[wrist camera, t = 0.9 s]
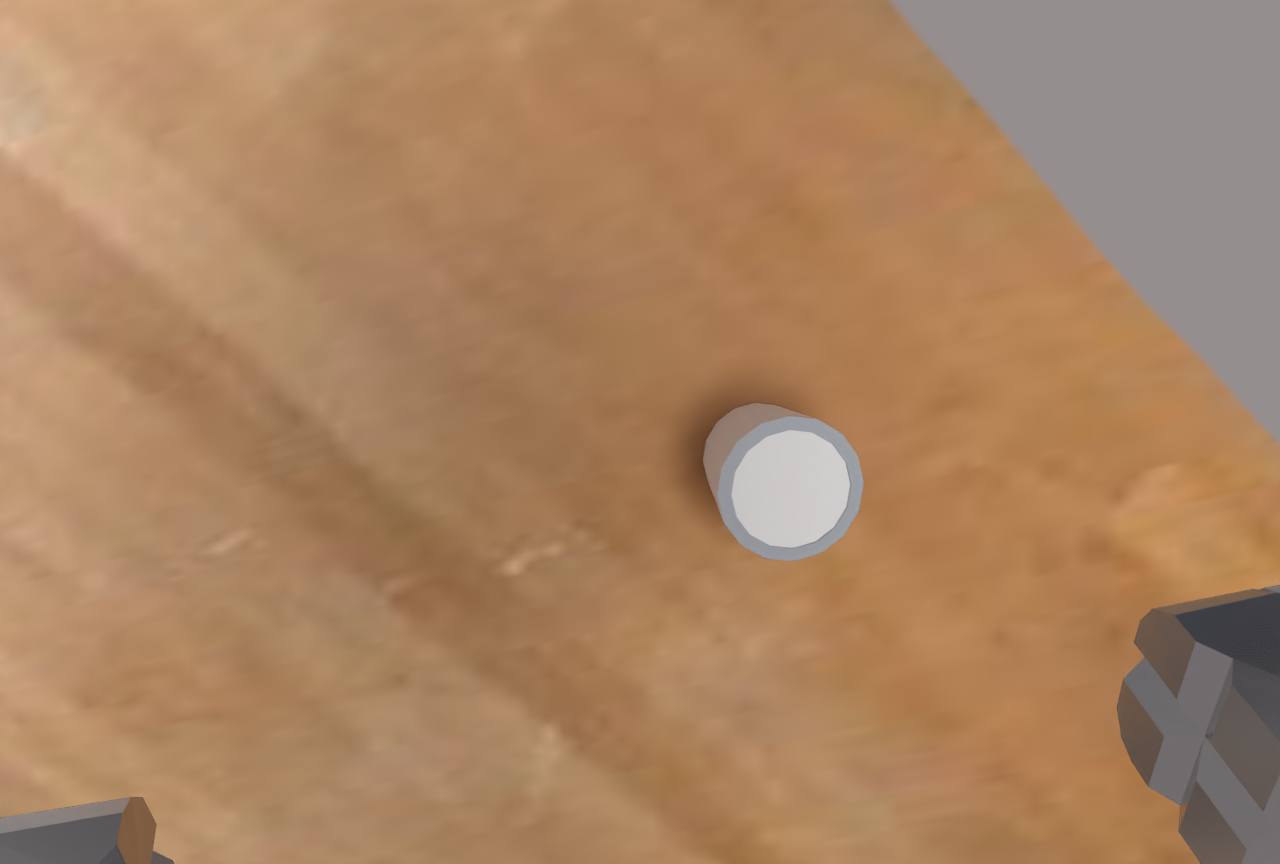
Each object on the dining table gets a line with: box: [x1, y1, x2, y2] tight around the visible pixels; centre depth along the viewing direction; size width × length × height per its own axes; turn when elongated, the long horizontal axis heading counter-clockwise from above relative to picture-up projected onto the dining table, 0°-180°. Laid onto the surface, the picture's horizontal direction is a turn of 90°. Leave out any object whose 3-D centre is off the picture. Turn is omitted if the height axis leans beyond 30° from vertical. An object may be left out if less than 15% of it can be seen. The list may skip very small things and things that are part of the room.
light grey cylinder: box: [703, 403, 864, 561], centre depth 56 cm, size 7×7×7 cm
